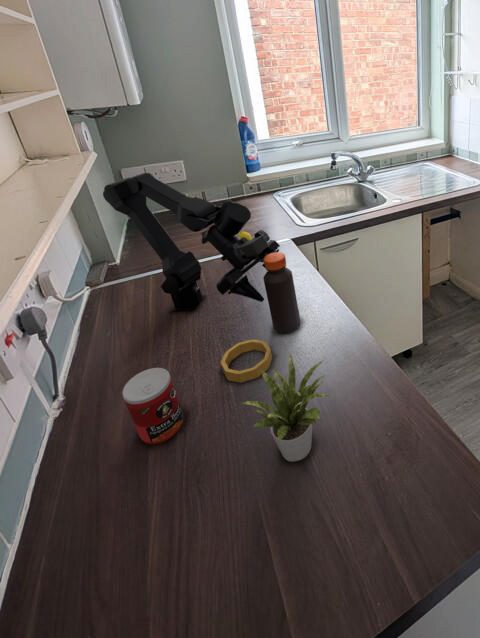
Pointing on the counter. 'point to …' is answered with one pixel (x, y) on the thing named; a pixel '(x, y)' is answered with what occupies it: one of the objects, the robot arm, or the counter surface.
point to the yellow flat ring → (251, 372)
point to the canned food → (153, 405)
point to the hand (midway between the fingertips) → (274, 289)
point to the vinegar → (281, 294)
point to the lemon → (244, 235)
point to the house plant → (290, 412)
